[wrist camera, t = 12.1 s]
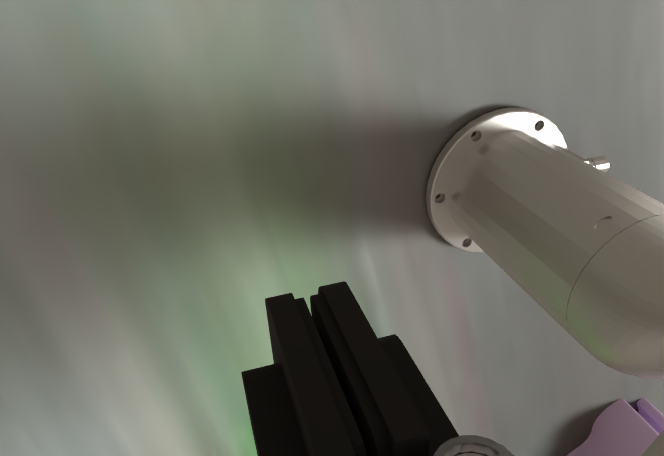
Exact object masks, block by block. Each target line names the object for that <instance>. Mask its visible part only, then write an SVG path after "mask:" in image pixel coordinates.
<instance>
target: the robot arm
mask: <svg viewBox="0 0 664 456" xmlns="http://www.w3.org/2000/svg"><path fill="white" fill-rule="evenodd" d="M608 169H609V162H608V159H607V158H606V157H605V156H599V157H594V158H589V159H587V160H585V159H583V158H582V157H580V156H578V155H576V154H574V153H572V152H570V151H568V150H567V145H566V142H565V139H564V137H563V134H562V133H561V131H560V130H559V129H558V127H557V126H556V125H555V124H554V123H553V122H552V121H551V120H549V119H548V118H547V117H545V116H543V115H541V114H539V113H537V112H535V111H531V110H528V109H525V108H513V107H510V108H504V109H497V110H494V111H492V112H489V113H486V114H483V115H481V116H480V117H478V118H476V119H474V120H473V121H471V122H469V123H468V124H467V125H465V126H464V127H463V128H462V129H460V130H459V131H458V132H457V133H456V134H455V135H454V136H453V137H452V138H451V139H450V140H449V142H448V143H447V144H446V145H445V147H444V148H443V150H442V151H441V153H440V154H439V156H438V157H437V159H436V161H435V164H434V166H433V168H432V170H431V173H430V177H429V180H428V184H427V192H426V204H427V212H428V215H429V218H430V220H431V223H432V224H433V226H434V228H435V229H436V231H437V232H438V233H439V234H440V235H441V236H442V237H443V238H444V240H445V241H447V242H448V243H450V244H451V245H452V246H454V247H456V248H458V249H460V250H463V251H468V252H474V253H480V252H485V253H486V254H487V255H488V256H489V257H490V258H491V259H492V260H493V261H494V262H495V263H496V264H497V265H498V266H499V267H500V268H502V269H503V270H504V271H505V272H506V273H507V274H508V275H509V276H510V277H511V278H512V279H513V280H514V281H515V282H516V283H517V284H518V285H519V286H520V287H521V288H522V289H523V290H524V291H525V292H526V293H527V294H528V295H529V296H530V297H532V298H533V299H534V300H535V301H536V302H537V303H538V304H539V305H540V306H541V307H542V308H543V309H544V310H545V311H546V312H547V313H548V314H549V315H550V316H551V317H552V318H553V319H554V320H555V321H556V322H557V323H558V324H559V325H560V326H561V327H563V328H564V329H565V330H566V331H567V332H568V333H569V334H570V335H571V336H572V337H573V338H574V339H575V340H576V341H577V342H578V343H579V344H580V345H581V346H583V347H584V348H585V349H586V350H587V351H588V352H589V353H590V354H591V355H592V356H594V357H595V358H596V359H597V360H599V361H600V362H602V363H604V364H605V365H607V366H608V367H611V368H613V369H615V370H617V371H620V372H622V373H625V374H629V375H633V376H638V377H642V378H650V379H659V380H664V204H662V203H660V202H659V201H657V200H655V199H653V198H651V197H649V196H647V195H646V194H644V193H642V192H640V191H638V190H636V189H634V188H633V187H631V186H629V185H627V184H625V183H623V182H621V181H619V180H618V179H616V178H614V177H612V176H610V175H608V174H606V173H605V172H607V171H608ZM265 303H266V311H267V318H268V325H269V332H270V339H271V346H272V353H273V360H274V364H272V365H268V366H264V367H260V368H256V369H252V370H248V371H244V372H242V378H243V384H244V389H245V394H246V400H247V405H248V410H249V415H250V420H251V425H252V430H253V435H254V440H255V445H256V450H257V455H258V456H514V455H513V454H512V453H511V452H510V451H508V450H507V449H506V448H505V447H504V446H503V445H501V444H499V443H497V442H495V441H493V440H491V439H488V438H484V437H480V436H476V435H462V436H459V435H458V433H457V432H456V430H455V428H454V427H453V425H452V423H451V422H450V420H449V419H448V417H447V415H446V414H445V412H444V410H443V409H442V407H441V405H440V404H439V402H438V401H437V399H436V397H435V396H434V394H433V392H432V391H431V389H430V387H429V386H428V384H427V382H426V381H425V379H424V378H423V376H422V374H421V373H420V371H419V369H418V368H417V366H416V364H415V363H414V361H413V360H412V358H411V356H410V355H409V353H408V351H407V350H406V348H405V346H404V345H403V343H402V342H401V340H400V339H399V338H398V336H396V335H395V334H394V335H390V336H386V337H382V338H377V337H376V335H375V333H374V331H373V329H372V328H371V326H370V324H369V322H368V320H367V319H366V317H365V315H364V313H363V311H362V310H361V308H360V306H359V304H358V302H357V301H356V299H355V297H354V295H353V293H352V292H351V290H350V288H349V286H348V285H347V283H346V282H339V283H334V284H330V285H325V286H321V287H319V289H318V294H317V295H312V296H311V297H310V303H311V314H312V316H311V314H310V312H309V309H308V307H307V304H306V302H305V300H304V298H299V299H294V296H293V294H292V293H289V294H284V295H279V296H275V297H270V298H266V299H265ZM641 456H664V430H663V431H662V432H661V433H660V434H659V435H658V437H657V438H656V439H655V440H654V441H653V443H652V444H651V445H650V446H649V447H648V448H647V450H646V451H645V452H644V453H643V454H642V455H641Z"/></svg>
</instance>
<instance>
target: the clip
mask: <svg viewBox="0 0 664 456" xmlns="http://www.w3.org/2000/svg"><path fill="white" fill-rule="evenodd" d="M636 405H637V406H638V413H637V412H636V411H635V410H634V409H633V408H632V407H631V406H630V405H629V404H628V403H627V402H626V401H625V400H624V399H623V398H622V399H619V400H617V401H616V402H614V403H612V404H611V405H610V406H608V407H607V408H606V409H605V410H604V411H603V412H602V413H601V414H600V415H599V416H598V418H597V419H596V421H595V422H594V424H593V427H592V430H591V433H590V435H589V437H588V438H587V440H586V441H585V442H584V443H583V444H581V445H580V446H579V447H577V448H576V449H574V450H573V451H572V452H570V453H569V454H568V455H567V456H641V455H642V454H643V453H644V452H645V451H646V450H647V448H648V447H649V446H650V445H651V444H652V443H653V441H654V440H655V439H656V438H657V437H658V435H659V434H660V433H661V432H662V431H663V430H664V415H663V414H662V413H661V412H659V411H658V410H657V409H656V408H655V407H654V406H653V405H652V404H651V403H650V402H649V401H648V400H647V399H646V398H641V399H640V400H639V401H638V402H637V404H636Z"/></svg>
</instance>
